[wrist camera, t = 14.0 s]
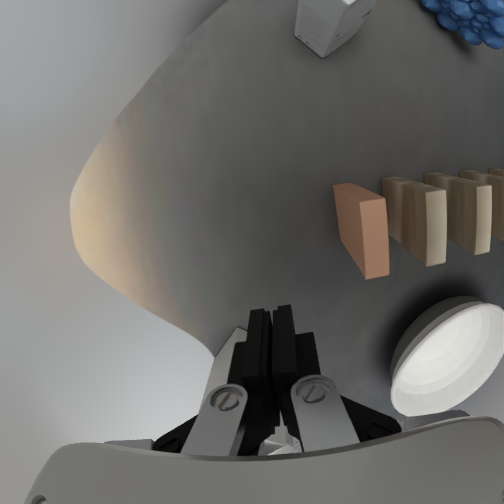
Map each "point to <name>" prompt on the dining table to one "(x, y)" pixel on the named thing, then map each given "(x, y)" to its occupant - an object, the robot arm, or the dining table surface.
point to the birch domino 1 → (417, 218)
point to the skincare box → (329, 22)
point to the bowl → (446, 355)
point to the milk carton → (220, 378)
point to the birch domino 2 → (466, 210)
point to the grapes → (472, 19)
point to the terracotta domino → (363, 228)
